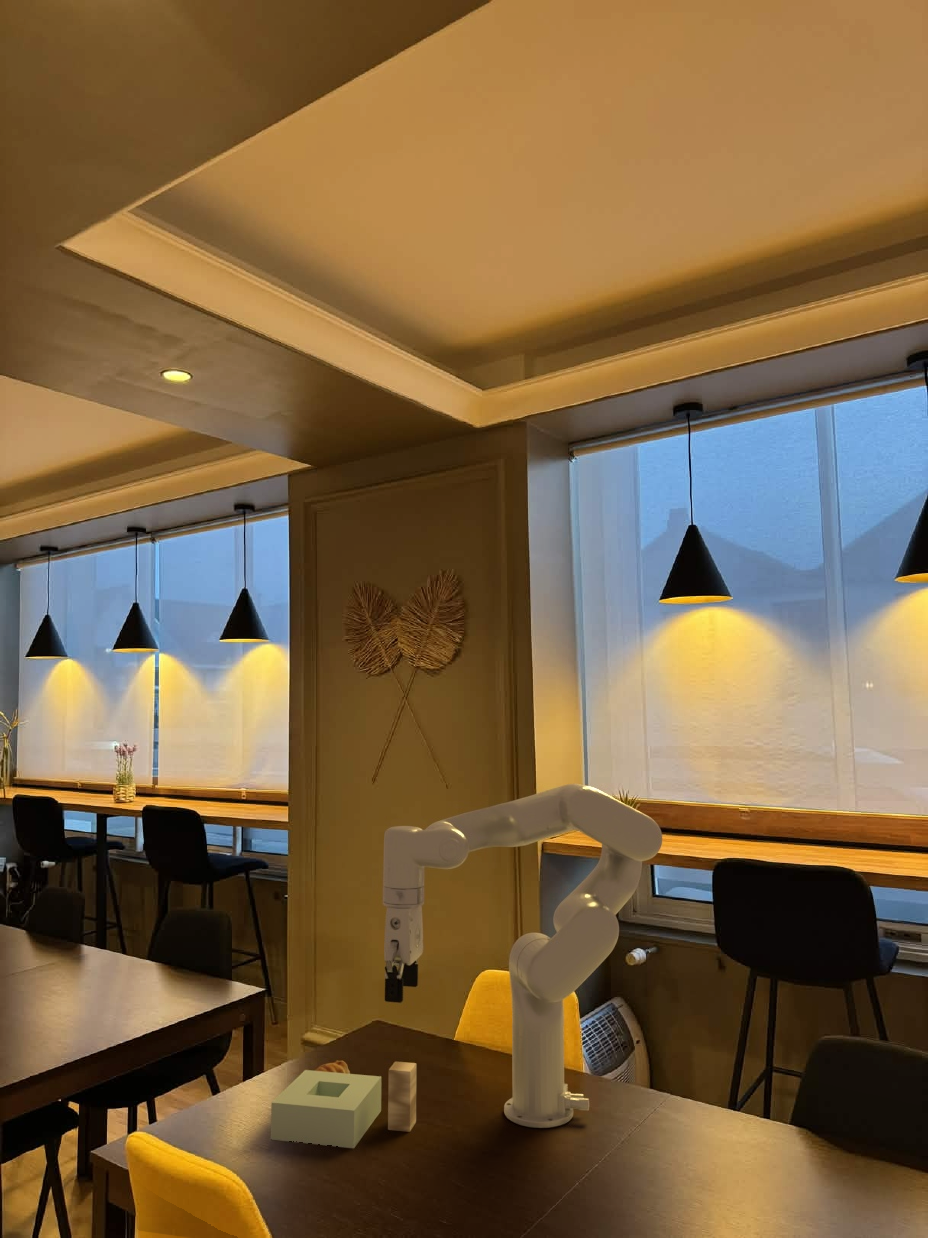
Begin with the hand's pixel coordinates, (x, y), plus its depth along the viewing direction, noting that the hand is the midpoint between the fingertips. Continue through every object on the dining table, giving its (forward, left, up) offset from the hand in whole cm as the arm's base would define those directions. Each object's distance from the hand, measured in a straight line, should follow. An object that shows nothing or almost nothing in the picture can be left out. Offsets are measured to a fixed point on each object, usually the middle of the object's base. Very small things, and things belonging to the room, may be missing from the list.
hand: (401, 993), depth 161 cm
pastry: (+19, -15, -23) cm, 34 cm away
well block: (+13, +2, -23) cm, 26 cm away
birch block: (0, 0, -23) cm, 23 cm away
